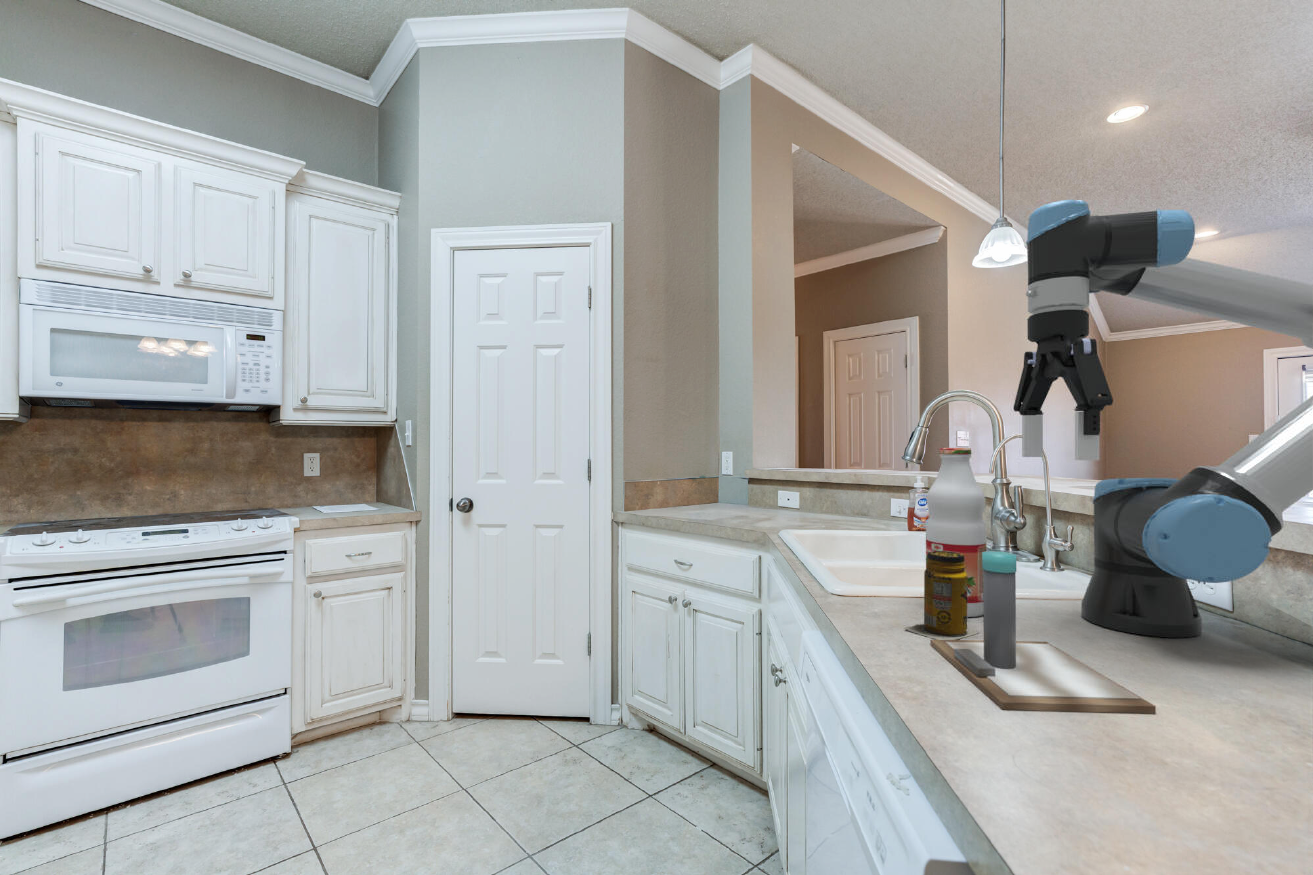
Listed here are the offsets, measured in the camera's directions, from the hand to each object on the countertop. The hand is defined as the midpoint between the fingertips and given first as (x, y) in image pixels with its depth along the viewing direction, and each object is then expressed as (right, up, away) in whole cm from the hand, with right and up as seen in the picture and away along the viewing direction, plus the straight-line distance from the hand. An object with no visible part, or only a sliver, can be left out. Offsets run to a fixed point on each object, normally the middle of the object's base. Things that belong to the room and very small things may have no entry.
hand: (1057, 458), depth 90 cm
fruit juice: (-7, -27, +17) cm, 32 cm away
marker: (-15, -26, -11) cm, 32 cm away
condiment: (-15, -27, +5) cm, 31 cm away
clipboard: (-12, -27, -12) cm, 32 cm away
